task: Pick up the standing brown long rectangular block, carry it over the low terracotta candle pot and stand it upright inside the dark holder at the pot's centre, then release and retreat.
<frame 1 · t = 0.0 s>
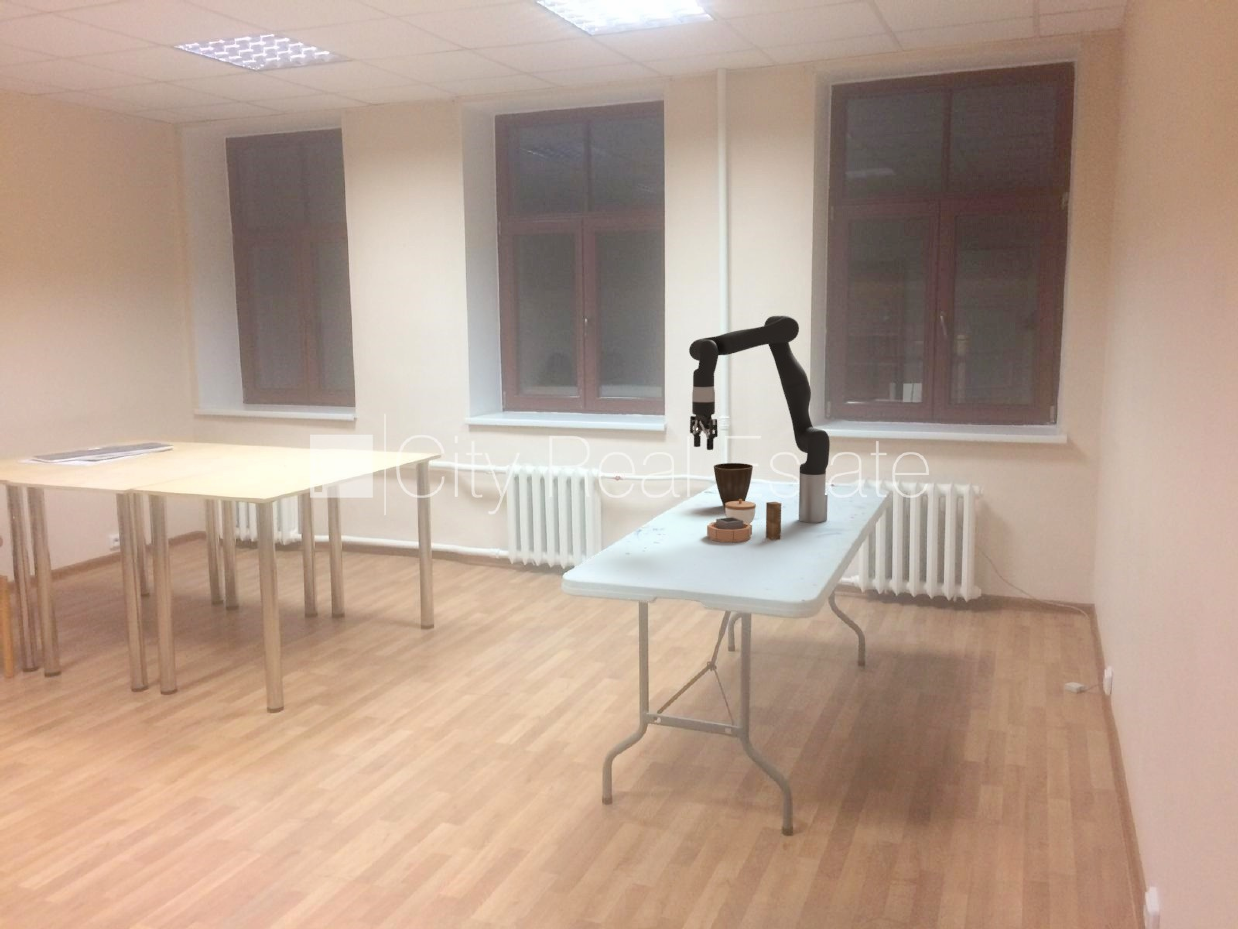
hand: (703, 448, 325), 29 cm above the table, fingers open, 8 cm apart
lidded jar: (740, 526, 342), on the table
brown long rectangular block: (773, 538, 322), on the table
candle pot: (729, 537, 324), on the table
plant pot: (732, 507, 374), on the table
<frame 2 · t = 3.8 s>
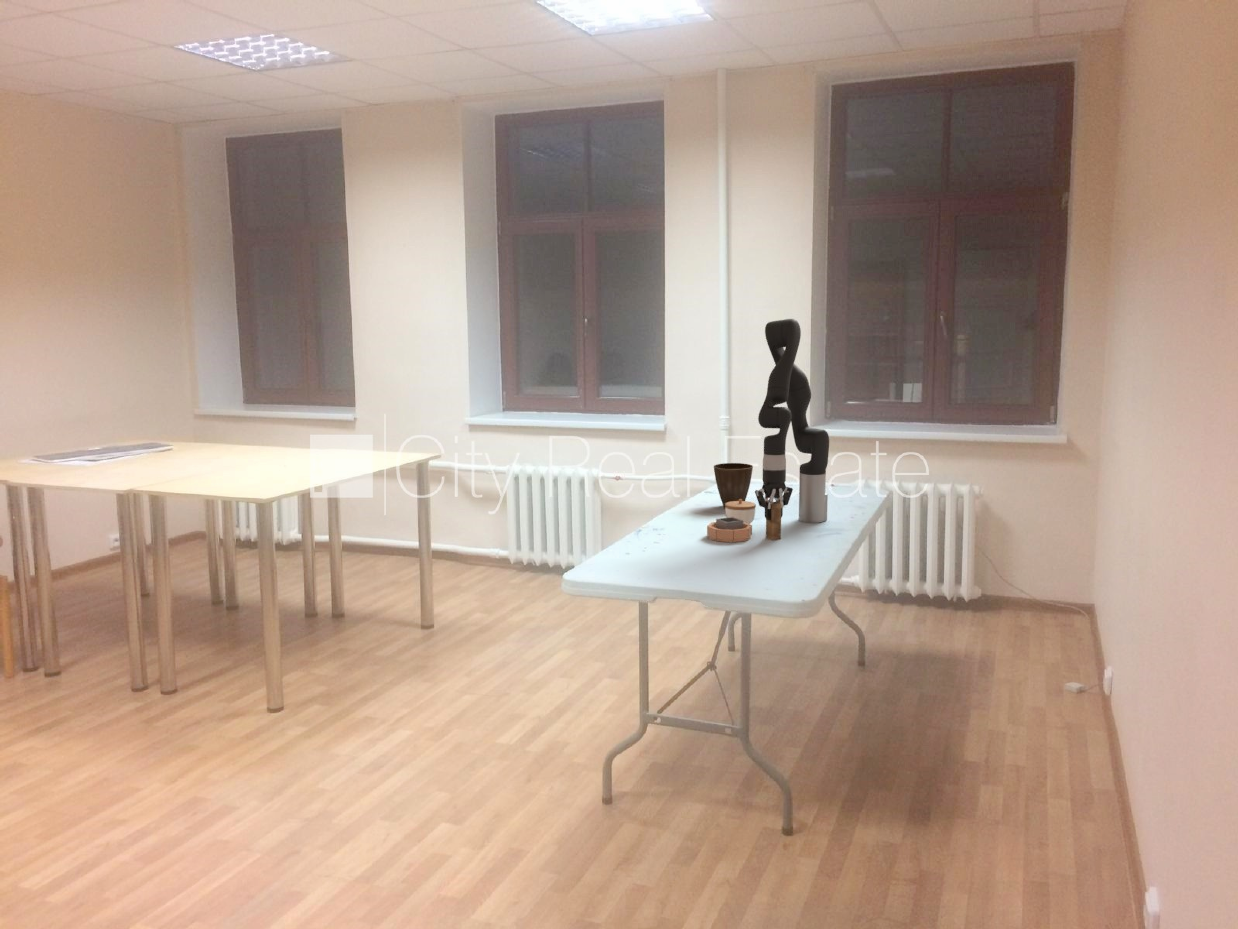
hand: (773, 518, 320), 7 cm above the table, fingers closed on brown long rectangular block, 3 cm apart
brown long rectangular block: (773, 538, 322), on the table, touching gripper
everything else where it was.
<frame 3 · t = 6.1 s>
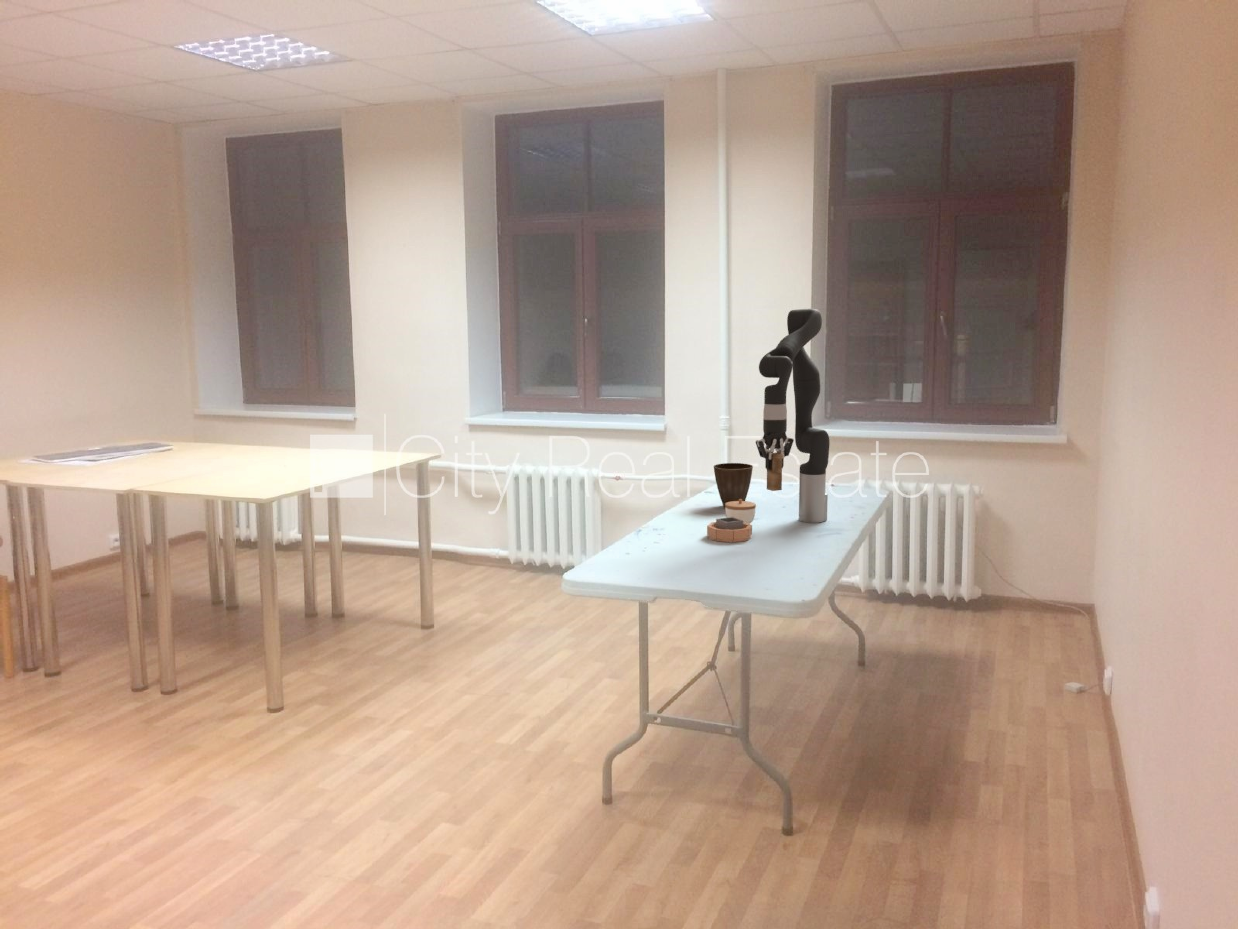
hand: (774, 469, 318), 23 cm above the table, fingers closed on brown long rectangular block, 3 cm apart
brown long rectangular block: (774, 489, 319), point 16 cm above the table, touching gripper
everything else where it was.
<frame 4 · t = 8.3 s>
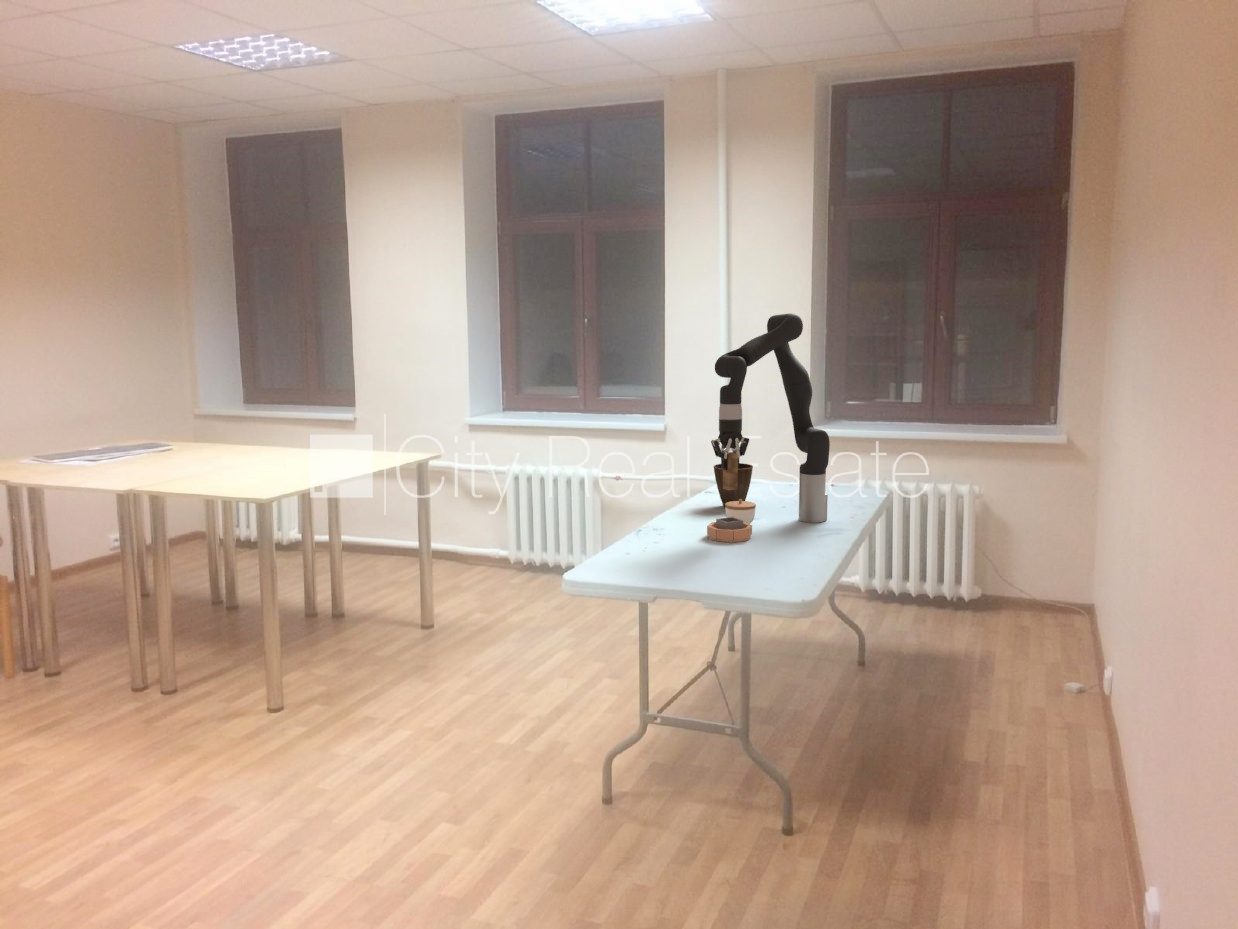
hand: (730, 469, 320), 23 cm above the table, fingers closed on brown long rectangular block, 3 cm apart
brown long rectangular block: (730, 488, 321), point 16 cm above the table, touching gripper
everything else where it was.
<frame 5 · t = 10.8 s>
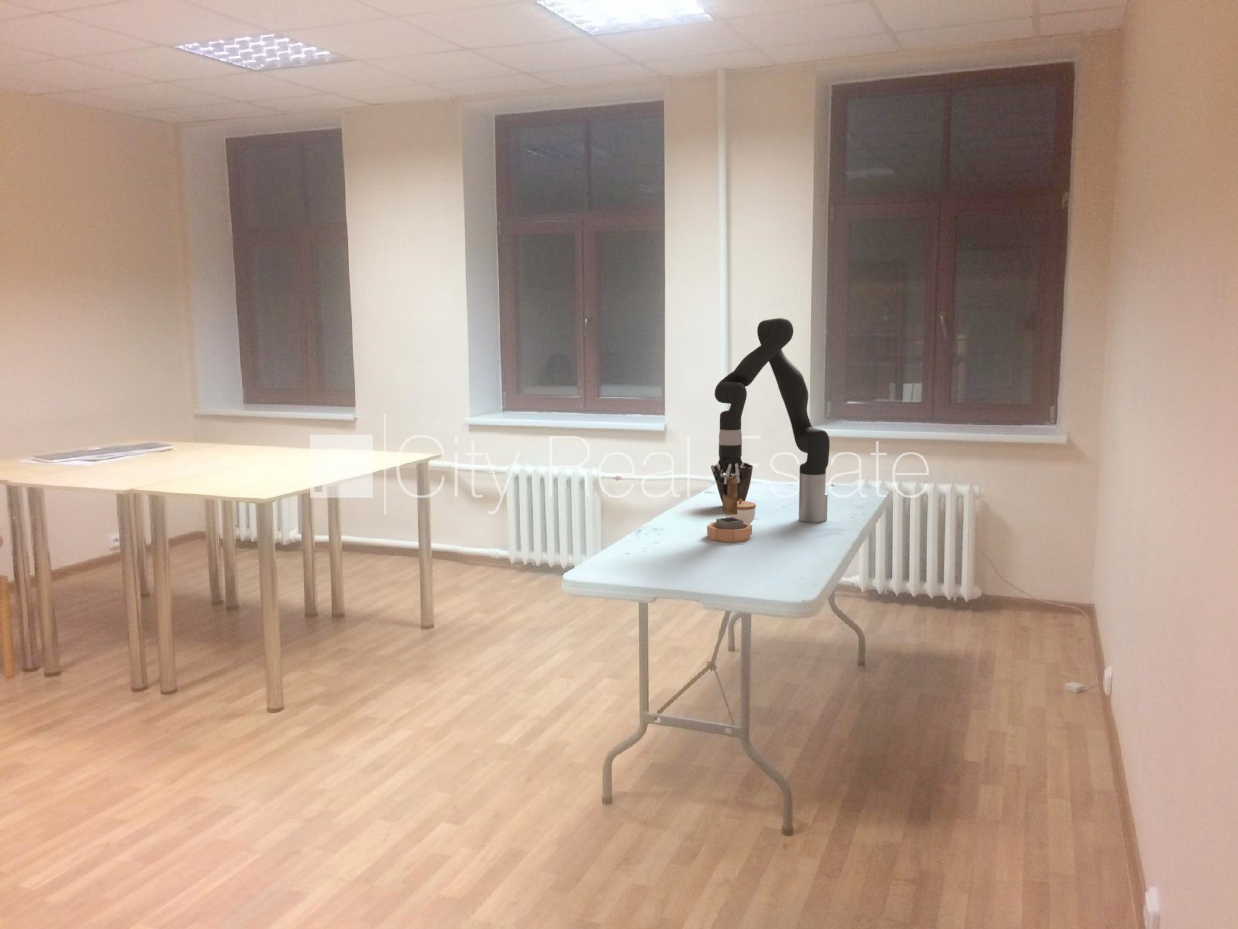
hand: (729, 494, 321), 15 cm above the table, fingers closed on brown long rectangular block, 3 cm apart
brown long rectangular block: (729, 513, 322), point 8 cm above the table, touching gripper
everything else where it was.
when the fingers open (9 cm above the table, at t = 13.1 s): brown long rectangular block stays where it is, resting on candle pot.
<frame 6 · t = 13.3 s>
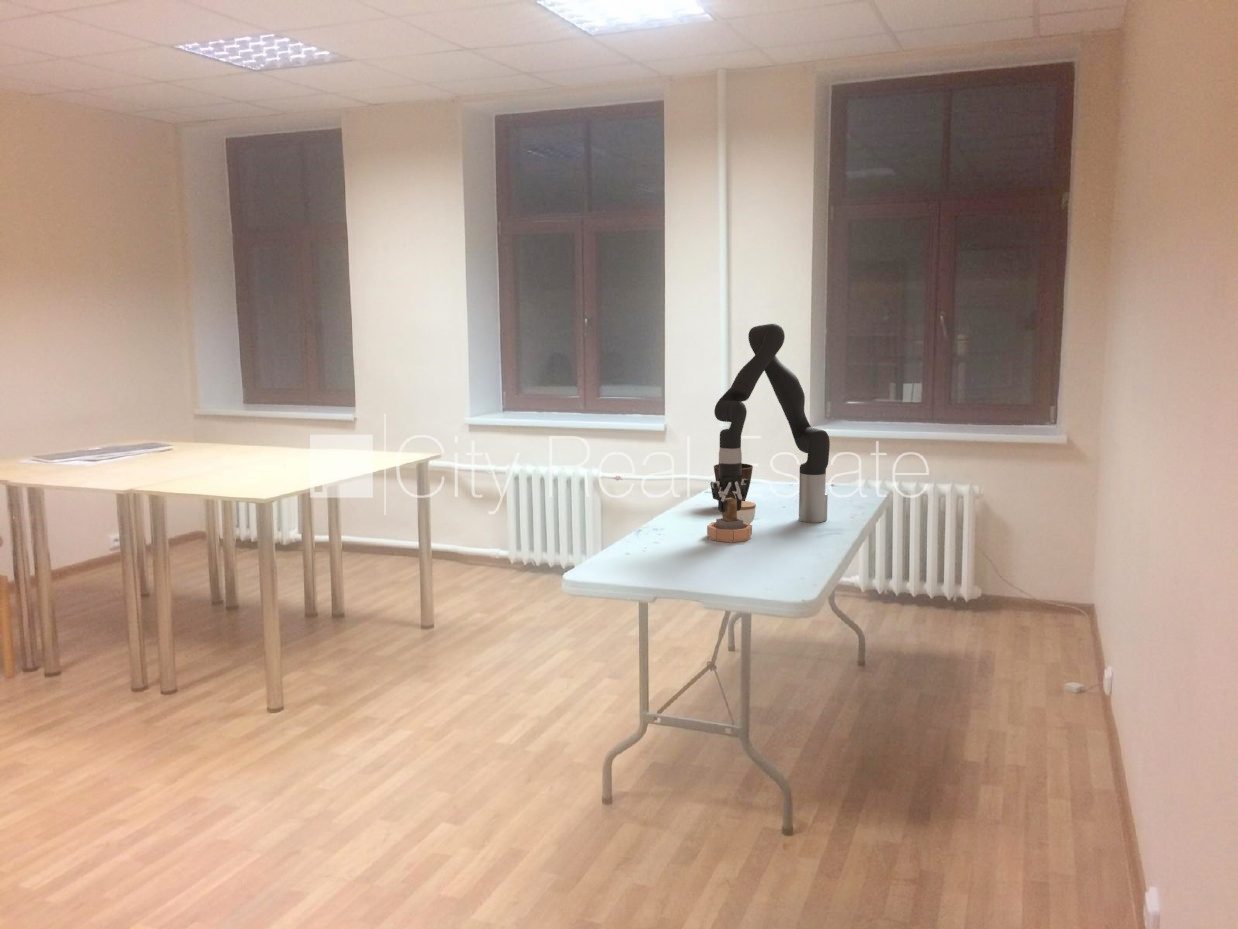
hand: (729, 511, 322), 9 cm above the table, fingers open, 5 cm apart
brown long rectangular block: (729, 534, 323), point 1 cm above the table, touching candle pot
everything else where it was.
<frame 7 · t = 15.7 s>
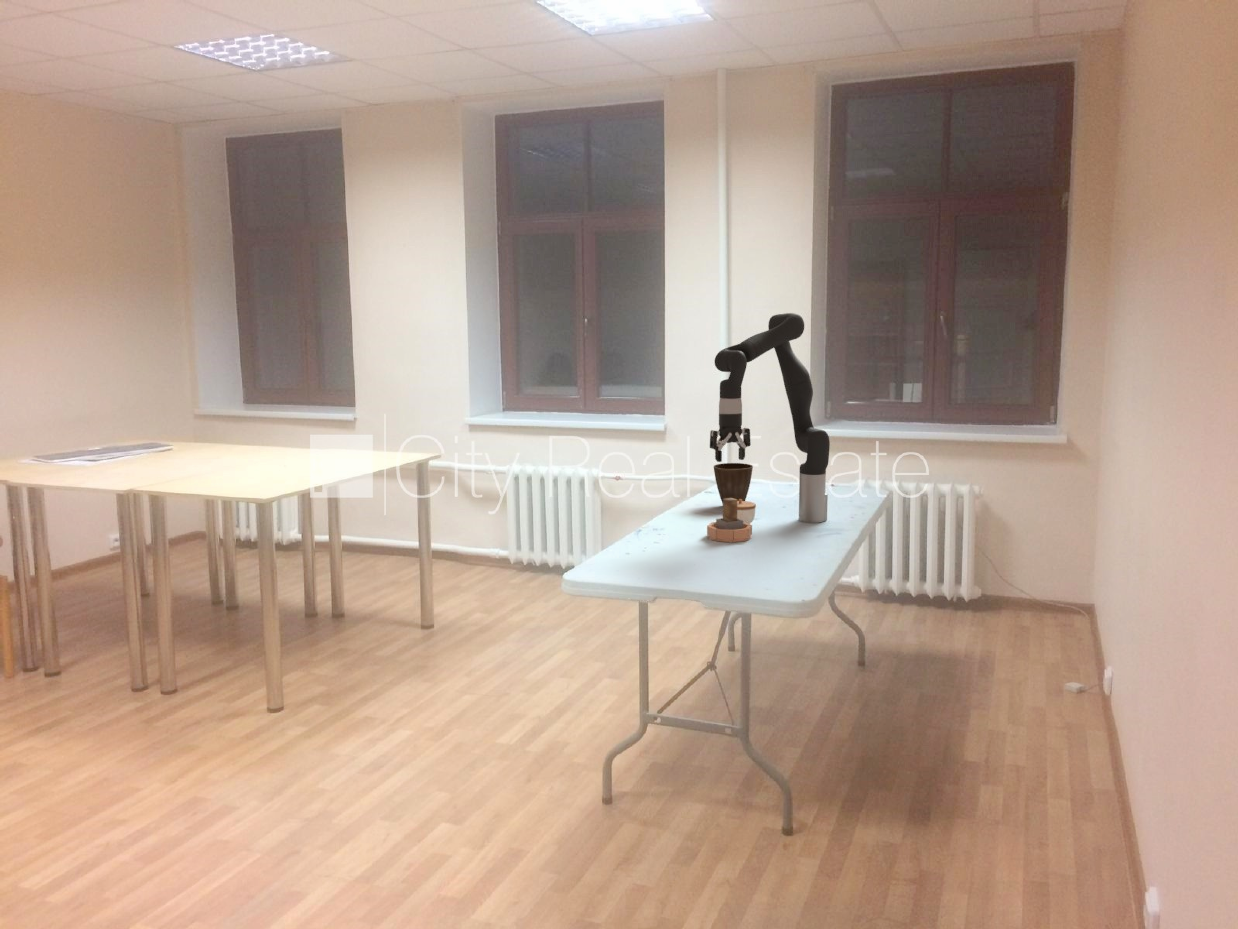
hand: (730, 460, 320), 26 cm above the table, fingers open, 8 cm apart
nothing on the table moved.
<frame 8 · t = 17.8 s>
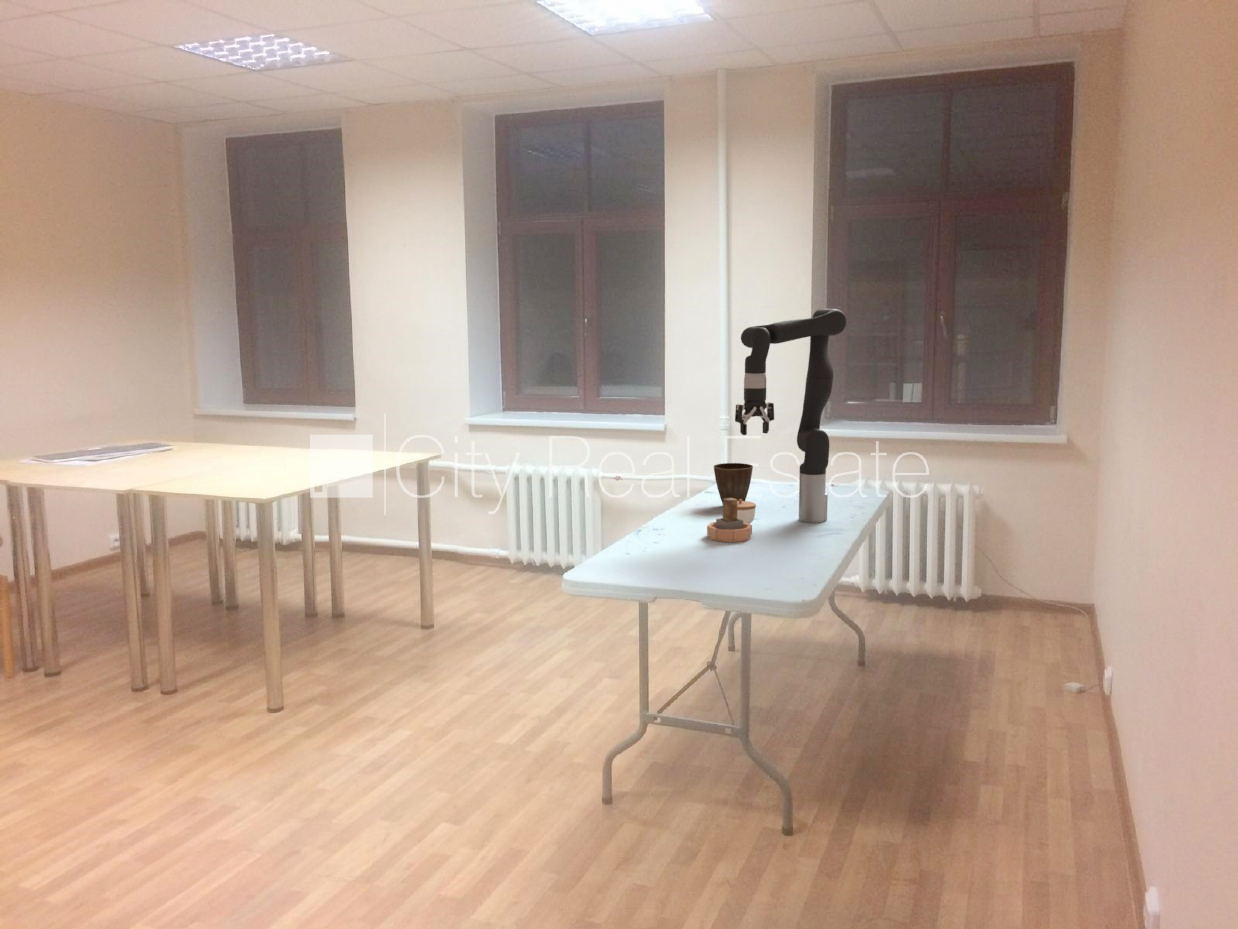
hand: (754, 434, 331), 33 cm above the table, fingers open, 8 cm apart
nothing on the table moved.
at the end: brown long rectangular block 0.1 cm off-centre on the candle pot, point 1.0 cm above the candle pot's base; brown long rectangular block tilted 0°; the gripper is holding nothing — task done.
